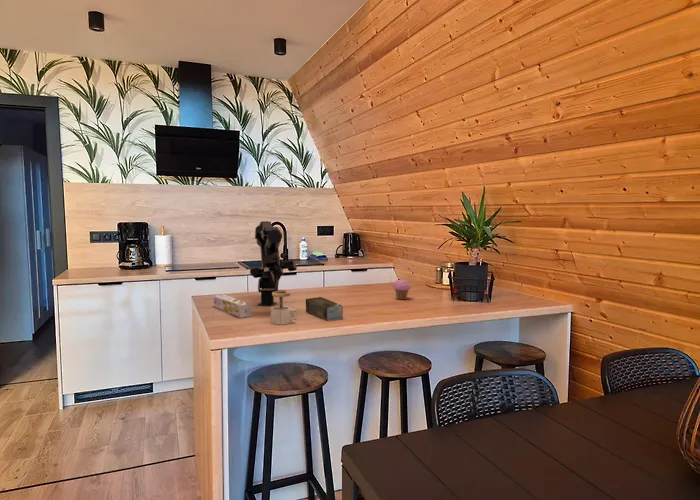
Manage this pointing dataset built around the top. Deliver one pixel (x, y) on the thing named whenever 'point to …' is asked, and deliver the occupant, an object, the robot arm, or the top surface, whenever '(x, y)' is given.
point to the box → (232, 306)
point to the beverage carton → (324, 308)
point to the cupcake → (401, 288)
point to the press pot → (282, 315)
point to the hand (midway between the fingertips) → (274, 288)
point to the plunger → (281, 295)
